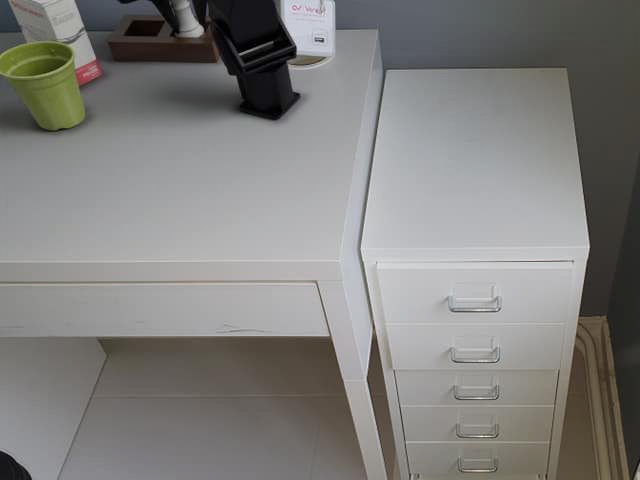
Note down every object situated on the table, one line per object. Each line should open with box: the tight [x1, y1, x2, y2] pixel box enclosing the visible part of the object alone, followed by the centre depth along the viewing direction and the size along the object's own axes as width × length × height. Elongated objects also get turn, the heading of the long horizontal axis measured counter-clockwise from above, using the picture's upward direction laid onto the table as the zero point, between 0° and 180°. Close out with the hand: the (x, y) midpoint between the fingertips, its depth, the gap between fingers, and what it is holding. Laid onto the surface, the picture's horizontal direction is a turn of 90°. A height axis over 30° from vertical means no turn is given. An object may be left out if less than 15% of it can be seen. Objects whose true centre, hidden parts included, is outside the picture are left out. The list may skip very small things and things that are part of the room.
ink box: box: [7, 0, 103, 88], centre depth 103 cm, size 9×5×12 cm, turn 58°
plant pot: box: [0, 41, 86, 131], centre depth 96 cm, size 9×9×9 cm
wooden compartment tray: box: [106, 13, 221, 64], centre depth 111 cm, size 9×15×3 cm, turn 90°
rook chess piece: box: [169, 0, 205, 38], centre depth 109 cm, size 4×4×8 cm
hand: (189, 28), depth 110 cm, fingers closed on rook chess piece, 4 cm apart
